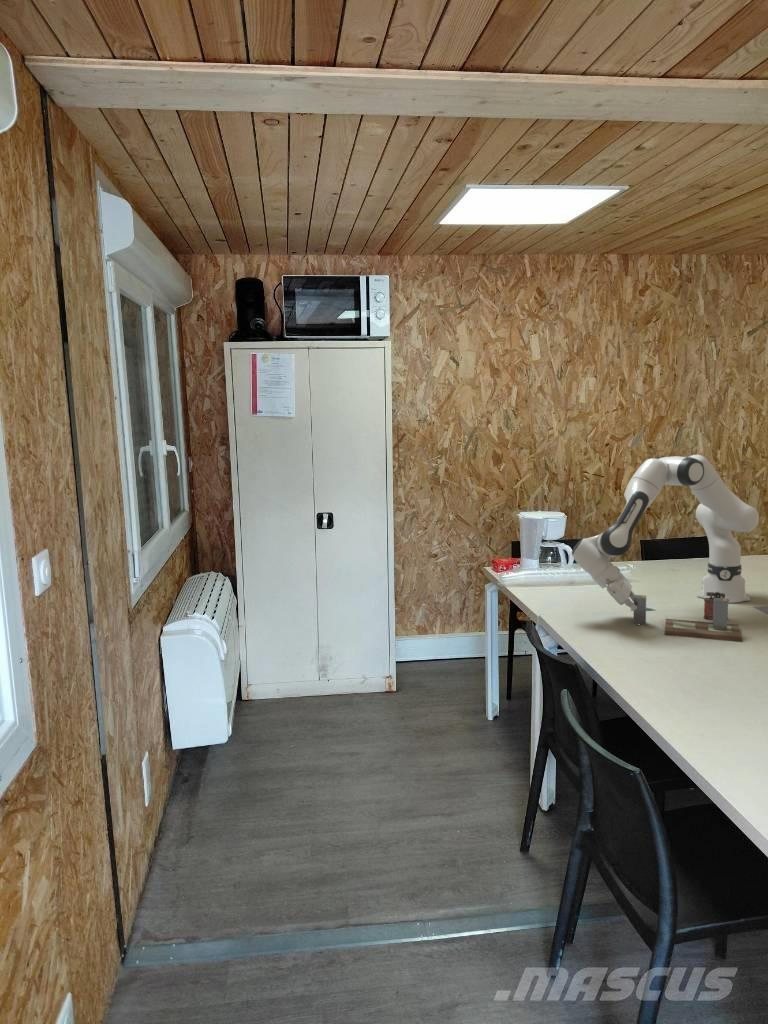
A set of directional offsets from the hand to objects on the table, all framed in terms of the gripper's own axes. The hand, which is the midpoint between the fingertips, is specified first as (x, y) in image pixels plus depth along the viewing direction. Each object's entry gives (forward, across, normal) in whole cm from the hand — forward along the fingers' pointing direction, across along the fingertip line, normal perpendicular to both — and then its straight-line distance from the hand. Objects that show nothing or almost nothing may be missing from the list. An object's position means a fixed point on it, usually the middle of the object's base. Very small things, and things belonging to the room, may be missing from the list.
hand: (636, 605), depth 236 cm
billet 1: (+6, 0, +4) cm, 7 cm away
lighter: (+23, +14, -14) cm, 30 cm away
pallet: (+20, -3, -10) cm, 22 cm away
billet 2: (+22, -3, -15) cm, 27 cm away
